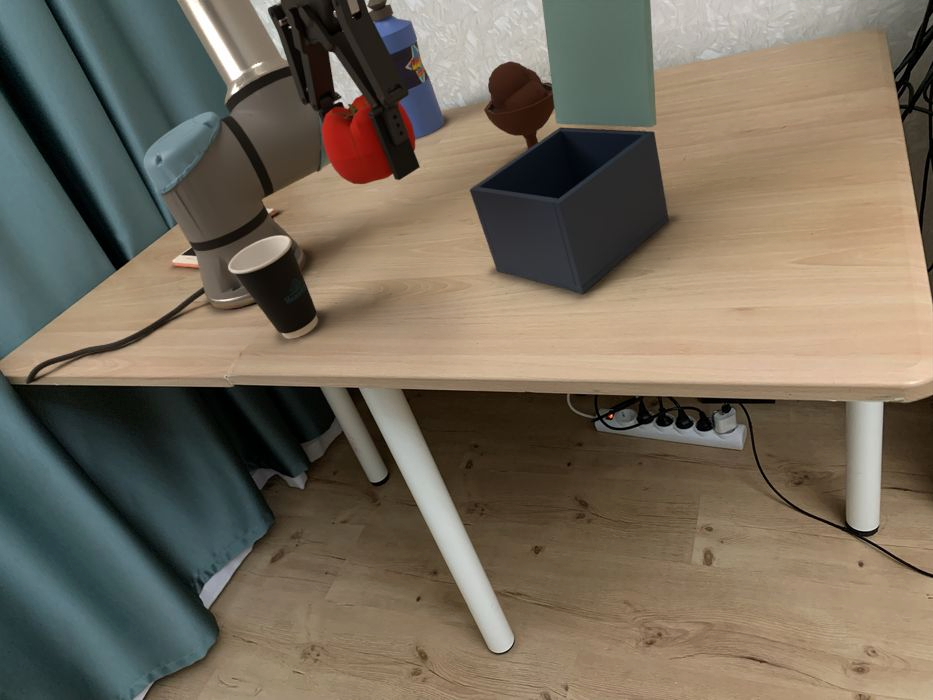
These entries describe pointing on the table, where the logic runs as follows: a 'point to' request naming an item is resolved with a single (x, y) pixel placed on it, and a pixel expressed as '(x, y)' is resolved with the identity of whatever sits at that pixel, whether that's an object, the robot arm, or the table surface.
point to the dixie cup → (276, 284)
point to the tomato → (358, 142)
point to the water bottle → (408, 68)
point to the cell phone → (190, 256)
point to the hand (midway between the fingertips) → (379, 169)
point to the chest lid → (601, 61)
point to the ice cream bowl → (519, 101)
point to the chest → (573, 205)
